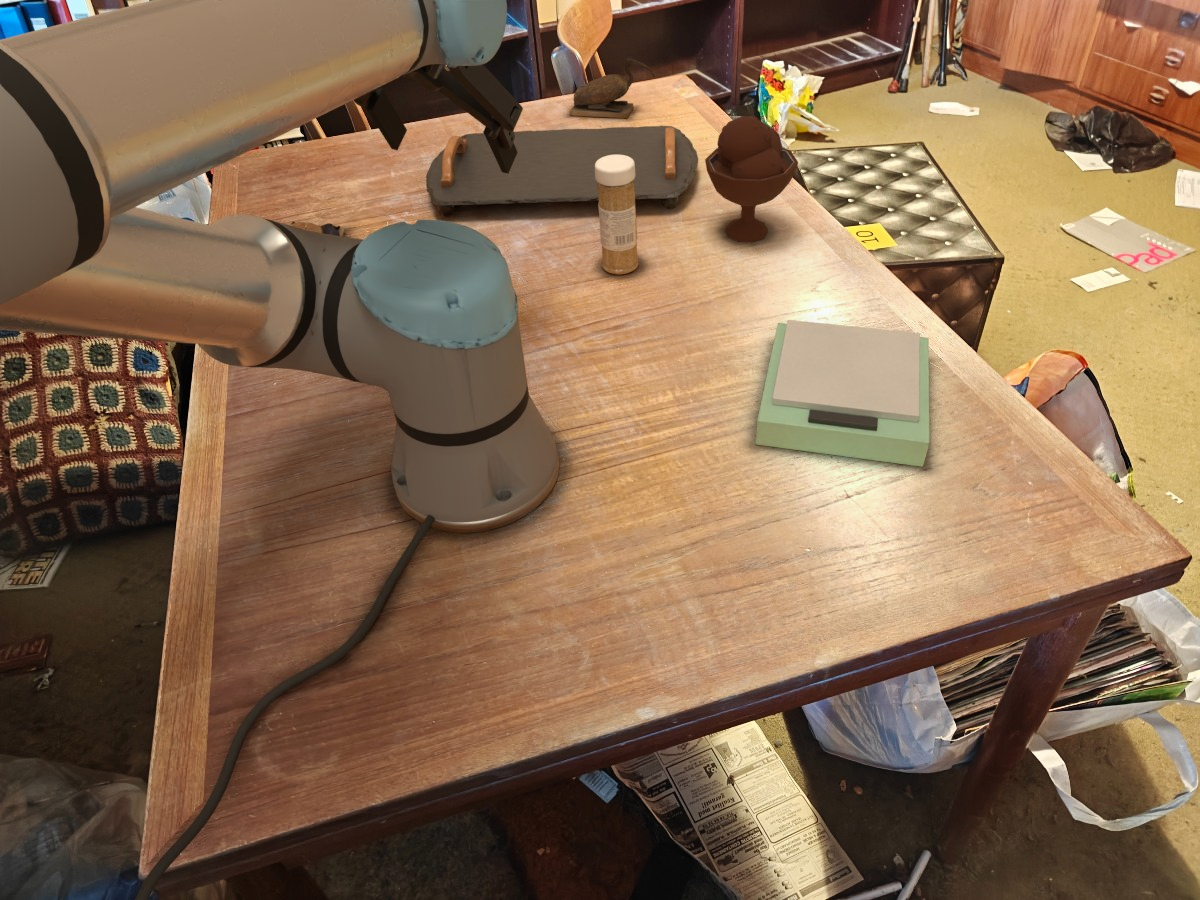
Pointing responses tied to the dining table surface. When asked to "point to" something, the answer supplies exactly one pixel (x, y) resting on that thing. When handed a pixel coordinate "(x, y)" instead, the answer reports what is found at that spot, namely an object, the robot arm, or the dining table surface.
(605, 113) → the figurine
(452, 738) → the dining table surface
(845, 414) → the kitchen scale
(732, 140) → the ice cream bowl
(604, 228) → the sprinkles bottle
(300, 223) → the open sandwich
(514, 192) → the serving tray
